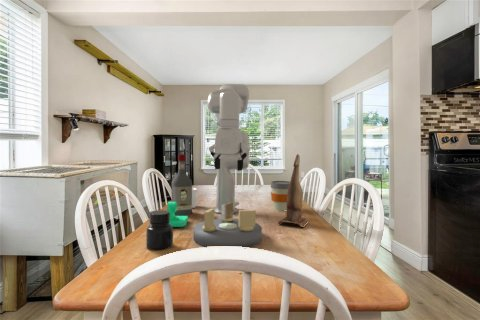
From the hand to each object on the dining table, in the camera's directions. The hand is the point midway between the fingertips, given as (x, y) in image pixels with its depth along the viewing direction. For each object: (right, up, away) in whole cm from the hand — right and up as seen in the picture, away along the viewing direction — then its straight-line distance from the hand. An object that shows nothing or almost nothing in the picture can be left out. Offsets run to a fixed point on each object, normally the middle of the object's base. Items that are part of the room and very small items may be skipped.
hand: (228, 169), depth 115 cm
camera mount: (-23, -25, +16) cm, 38 cm away
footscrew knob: (-1, -22, +8) cm, 23 cm away
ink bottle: (-24, -27, -11) cm, 37 cm away
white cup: (-23, -23, +52) cm, 61 cm away
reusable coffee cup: (+27, -24, +49) cm, 61 cm away
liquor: (-25, -24, +36) cm, 50 cm away
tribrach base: (0, -26, 0) cm, 26 cm away
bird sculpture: (+29, -26, +20) cm, 43 cm away
